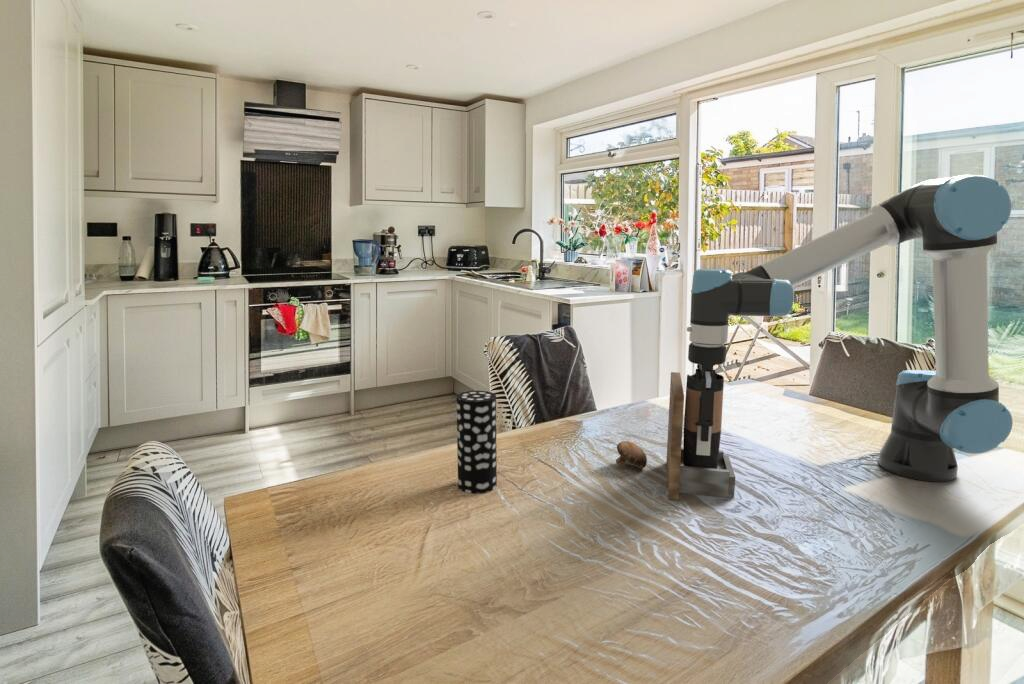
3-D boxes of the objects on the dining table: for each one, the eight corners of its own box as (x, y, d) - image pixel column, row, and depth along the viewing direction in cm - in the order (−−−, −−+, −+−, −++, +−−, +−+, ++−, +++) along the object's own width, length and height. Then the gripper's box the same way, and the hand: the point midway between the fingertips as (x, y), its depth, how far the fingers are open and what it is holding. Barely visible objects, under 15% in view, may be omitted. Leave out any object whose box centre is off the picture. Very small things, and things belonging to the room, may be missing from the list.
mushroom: (604, 456, 140) (621, 434, 140) (611, 457, 148) (627, 436, 147) (632, 479, 137) (649, 456, 137) (638, 479, 145) (654, 458, 144)
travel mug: (720, 474, 129) (726, 381, 125) (683, 471, 130) (687, 379, 126) (716, 460, 136) (722, 372, 132) (680, 457, 138) (685, 371, 134)
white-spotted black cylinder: (503, 481, 135) (502, 393, 131) (485, 496, 127) (484, 403, 123) (469, 475, 138) (468, 389, 134) (450, 489, 131) (448, 398, 127)
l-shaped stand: (725, 467, 142) (731, 375, 138) (736, 505, 123) (744, 399, 119) (666, 462, 145) (671, 372, 141) (668, 499, 126) (673, 395, 122)
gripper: (686, 334, 139) (681, 430, 143) (691, 352, 119) (685, 464, 123) (721, 335, 137) (715, 433, 141) (732, 354, 117) (725, 467, 122)
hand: (701, 447), depth 132 cm, fingers closed on travel mug, 8 cm apart
